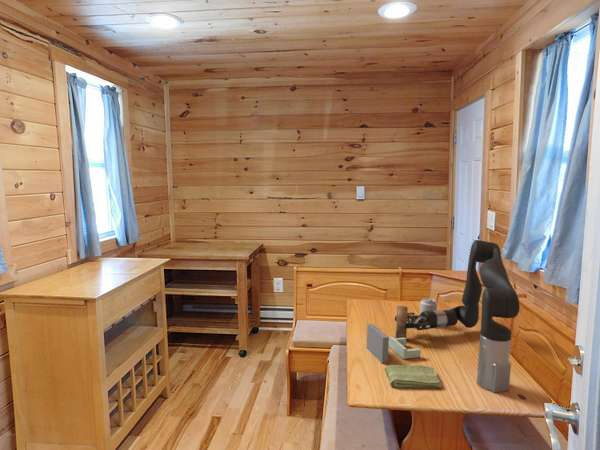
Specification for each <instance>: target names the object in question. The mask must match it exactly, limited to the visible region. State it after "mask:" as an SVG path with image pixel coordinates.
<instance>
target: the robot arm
mask: <svg viewBox="0 0 600 450" xmlns="http://www.w3.org/2000/svg"><path fill="white" fill-rule="evenodd" d="M477 263H481V265H480V267H479V270H478V271H479V273H478V271H477ZM466 270H467V272H466V279H465V285H464V289H463V294H462V298H461V302H462V305H458V306H455V307H452V308H450V309H443V310H441V309H439V310H434V311H423V312H422V313H421V314H420V313H419V314H415V312H407V323H405V325H404V328H406V329H407V330H409V329H414V330H416V331H423V330H424V331H425V330H431V329H438V328H439V329H440V328H445V327H447V328H448V327H453V326H456V325H457V323H458V321H459V322H460V323H461V324H462V325H463V326H464V327H465V328H468V329H469V328H470V329H471V328H474V327H475V326H476V325H477V324H478V322H479V318H480V314H479V313H480V306H479V303H480V300H481V321H480V336H479V337H480V338H479V346H478V347H479V348H478V361H477V373H476V374H477V376H476V384H477V385H478V386H479V387H481V388H483V389H484V390H487V391H491V392H492V393H500V392H507V391H509V390H510V383H511V381H510V380H511V370H512V363H511V362H510V353H511V341H512V330H511V329H510V328H509V327H507V326H505V325H503V324H502V323H499V322H497V321H495V320H494V319H493V318H504V319H513V318H516V317H517V316H518V315H519V312H520V300H519V296H518V293H517V292H516V290H515V288H514V286H513V285H512V284H511V281H510V279H509V278H510V277H509V274H508V272H507V269H506V268H505V265H504V262H503V259H502V252H501V249H500V246H499V244H498V243H495V242H492V241H488V240H487V241H485V240H479V239H475V240H473V242H472V243H471V247H470V250H469V257H468V263H467V269H466ZM479 277H480V278H479ZM482 285H483V286H484V287H485V288H484V289H483V287H482ZM396 319H397V315H395V316H394V321H395V322H396Z"/></svg>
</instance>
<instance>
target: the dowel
mask: <svg viewBox="0 0 600 450" xmlns="http://www.w3.org/2000/svg"><path fill="white" fill-rule="evenodd" d="M408 309H409V308H408V307H407V306H404V305H398V306H396V316H397V319H396V321H395V322H396V323H395V325H396V326H395V338H406V339H407V331H408V329H406V328H404V325H405V323H408V322H407V313H409V312H408V311H409V310H408Z"/></svg>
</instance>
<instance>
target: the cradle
mask: <svg viewBox="0 0 600 450" xmlns="http://www.w3.org/2000/svg"><path fill="white" fill-rule="evenodd" d="M388 337H389V348H390V349H392V350H393V352H395V353H396V354H397V355H398V356H399V357H401V358H402V359H403V360H406V359H414V358H415V359H416V358H421V351H422V350H421V349H420V348H409V349H407V347H405V346H407V337H406V338H396V337H393V336H392V335H391V336H388Z"/></svg>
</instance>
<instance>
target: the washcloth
mask: <svg viewBox="0 0 600 450" xmlns="http://www.w3.org/2000/svg"><path fill="white" fill-rule="evenodd" d="M384 371H385V374H386V376H387V378H388V382H389V385H390V386H391V387H392V388H398V389H399V388H401V389H420V388H422V389H423V388H424V389H425V388H428V389H430V388H431V389H440V388H441V389H442V388H443V385H442V383H441V379H440V378H439V376H438V374H437V372H435V369H434V367H432V366H427V365H418V364H417V365H412V364H411V365H409V364H408V365H404V364H403V365H402V364H388V365H385V366H384Z"/></svg>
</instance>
